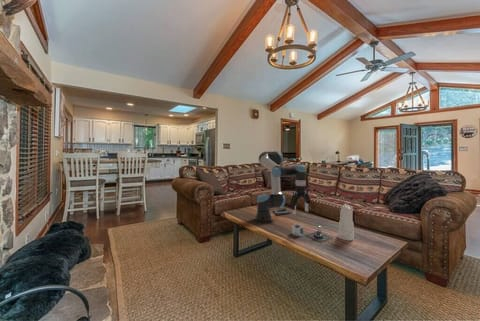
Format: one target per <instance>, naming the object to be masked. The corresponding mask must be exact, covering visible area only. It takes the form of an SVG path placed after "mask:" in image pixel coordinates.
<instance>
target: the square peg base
mask: <svg viewBox="0 0 480 321" xmlns="http://www.w3.org/2000/svg"><path fill="white" fill-rule="evenodd" d="M304 236H306V237H308V238H310V239H312V240H315V241H316V242H319V244H323V243H326V242H330V241H333V239H334V237H333V236H331V235H328V234H325V233H323V232H322V226H321V225H317V226H316V231H314V232H310V233H308V234H307V233H306V234H305V235H304ZM329 240H330V241H329Z"/></svg>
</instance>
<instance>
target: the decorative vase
mask: <svg viewBox="0 0 480 321" xmlns="http://www.w3.org/2000/svg"><path fill="white" fill-rule="evenodd" d="M339 212H340V214H339V215H340V216H339V221H338V231H337V233H338V234H337V235H338V238H339V239H341V240H344V241H354V240H355V232H354V230H355V228H354V226H355V225H354V224H355V223H354V221H353V220H354V219H353V218H354V217H353V206H352V205H349V204H348V203H344V204H343V205H342V207H341V208H340V211H339Z"/></svg>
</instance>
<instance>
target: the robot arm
mask: <svg viewBox="0 0 480 321" xmlns="http://www.w3.org/2000/svg"><path fill="white" fill-rule="evenodd" d="M283 158H284V156H283V154H282V153H281V152H280V151H275V150H274V151H264V152H261V153H260V154H259V156H258V162H259V163H260V164H261V166H265V167H266V168H267V169H268V170H269V171H270V184H271V186H270V187H271V192H270V194H268V193H267V194H266V193H265V194H259V195H258V196H257V198H256V204H257V206H256V207H257V208H256V209H257V210H256V211H257V212H256V213H255V214H256V216H255V221H256V222H259V223H269V222H272V219H273V218H272V216H271V215H272V214H271V212H270V210H271V209H275V208H276V209H277V208H278V209H279V208H283V207H284V206H285V203H286V197H285V195H284V194H283V192H282V191H281V190H282V189H281V178H283V177H284V178H285V177H295V192H293V193H292V196H291V200H290V203H289V205H290V206H291V209H292V210H291V211H292V215H296V214H297V205H296V204H297V203H298V201H299V199H300V198H302V199H303V200H304V212H309V204H310V203H311V198H310V195H309V192H308V190H307V189H306V188H307V187H306V186H307V185H306V184H307V181H306V180H307V179H306V178H307V170H306V169H307V167H306V165H303V164H296V165H295V166H287V167H286V166H282V164H283V161H284V159H283Z"/></svg>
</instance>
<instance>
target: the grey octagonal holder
mask: <svg viewBox="0 0 480 321" xmlns="http://www.w3.org/2000/svg"><path fill="white" fill-rule="evenodd" d="M296 225H297V224H292V225H291V226H292V227H291V228H292V230H291V233H292V236H295V237H303V236H304V226H303V225H302V224H298V225H299V228H297V227H296Z"/></svg>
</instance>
